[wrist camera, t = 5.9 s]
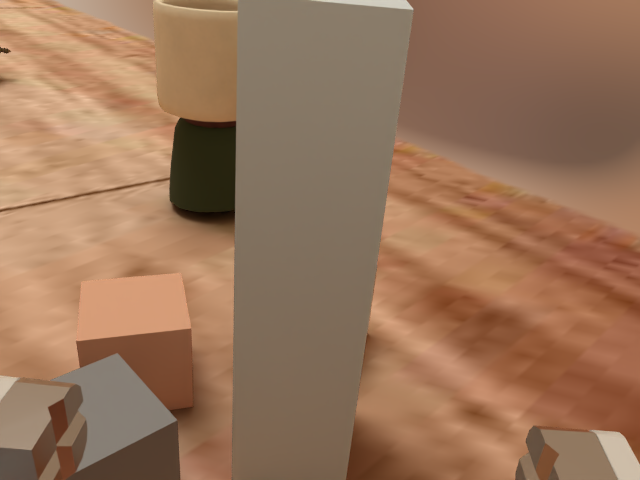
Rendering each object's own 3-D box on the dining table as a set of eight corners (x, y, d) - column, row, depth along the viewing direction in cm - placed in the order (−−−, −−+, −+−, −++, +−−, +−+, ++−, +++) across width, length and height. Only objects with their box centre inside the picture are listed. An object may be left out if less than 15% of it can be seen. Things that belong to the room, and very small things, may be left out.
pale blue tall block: (344, 490, 21) (413, 9, 13) (231, 480, 21) (237, -7, 13) (345, 409, 24) (400, -8, 17) (248, 400, 24) (261, -20, 17)
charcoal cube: (61, 582, 17) (42, 489, 16) (14, 492, 20) (-7, 403, 18) (181, 507, 20) (177, 419, 18) (126, 436, 22) (117, 353, 21)
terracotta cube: (87, 423, 23) (76, 341, 21) (91, 357, 26) (81, 281, 24) (193, 407, 24) (191, 328, 22) (183, 346, 27) (181, 273, 25)
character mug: (304, 222, 39) (320, 16, 33) (210, 249, 35) (208, 19, 29) (220, 168, 47) (220, -9, 41) (133, 185, 42) (119, -10, 36)
